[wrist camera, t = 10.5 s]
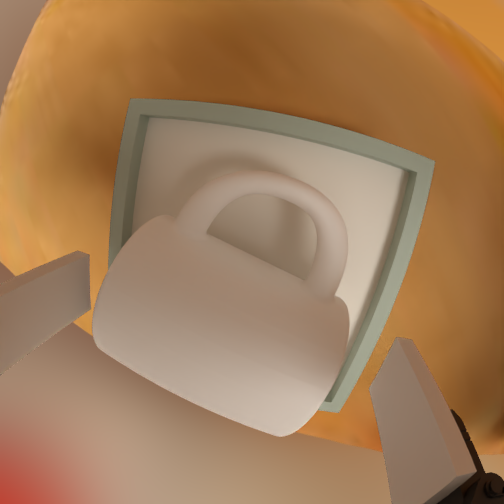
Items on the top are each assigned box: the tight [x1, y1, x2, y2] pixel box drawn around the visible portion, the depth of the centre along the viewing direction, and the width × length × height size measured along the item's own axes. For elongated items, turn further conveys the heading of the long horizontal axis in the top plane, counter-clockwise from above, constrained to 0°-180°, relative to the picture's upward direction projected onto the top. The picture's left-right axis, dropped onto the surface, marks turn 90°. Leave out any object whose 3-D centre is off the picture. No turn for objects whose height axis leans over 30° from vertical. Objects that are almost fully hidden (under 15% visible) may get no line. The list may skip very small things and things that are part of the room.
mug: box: [92, 171, 350, 436], centre depth 13 cm, size 12×10×8 cm
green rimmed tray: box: [108, 99, 435, 413], centre depth 19 cm, size 18×18×7 cm
